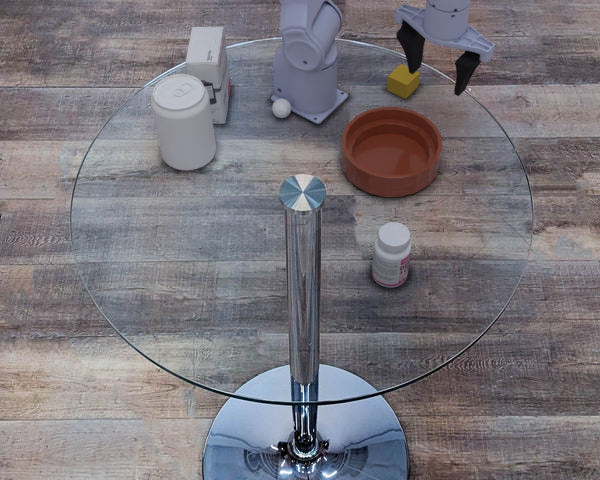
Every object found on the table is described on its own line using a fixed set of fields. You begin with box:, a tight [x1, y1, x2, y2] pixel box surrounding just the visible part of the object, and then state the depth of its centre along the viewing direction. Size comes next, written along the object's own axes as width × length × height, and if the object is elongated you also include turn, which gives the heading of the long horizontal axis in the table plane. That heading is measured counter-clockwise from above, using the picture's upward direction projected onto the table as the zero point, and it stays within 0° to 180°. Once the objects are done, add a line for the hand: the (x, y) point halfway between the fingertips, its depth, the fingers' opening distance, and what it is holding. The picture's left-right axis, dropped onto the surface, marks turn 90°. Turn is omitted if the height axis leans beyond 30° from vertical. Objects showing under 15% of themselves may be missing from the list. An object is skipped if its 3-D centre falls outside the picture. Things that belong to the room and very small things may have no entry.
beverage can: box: [150, 73, 217, 171], centre depth 124 cm, size 8×8×12 cm
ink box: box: [184, 26, 231, 125], centre depth 130 cm, size 8×5×12 cm, turn 177°
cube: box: [386, 63, 421, 100], centre depth 136 cm, size 4×4×3 cm
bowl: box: [340, 106, 443, 198], centre depth 126 cm, size 14×14×4 cm
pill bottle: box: [371, 221, 412, 288], centre depth 112 cm, size 5×5×8 cm
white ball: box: [271, 98, 292, 119], centre depth 132 cm, size 3×3×3 cm
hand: (437, 80), depth 124 cm, fingers open, 7 cm apart
